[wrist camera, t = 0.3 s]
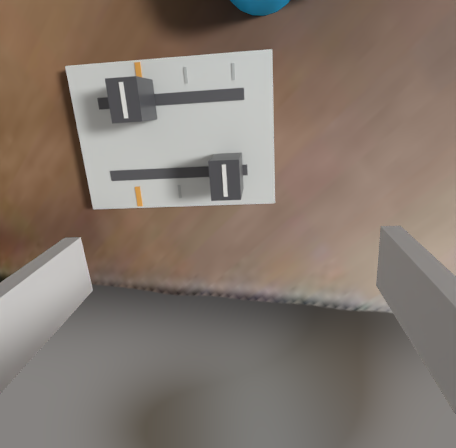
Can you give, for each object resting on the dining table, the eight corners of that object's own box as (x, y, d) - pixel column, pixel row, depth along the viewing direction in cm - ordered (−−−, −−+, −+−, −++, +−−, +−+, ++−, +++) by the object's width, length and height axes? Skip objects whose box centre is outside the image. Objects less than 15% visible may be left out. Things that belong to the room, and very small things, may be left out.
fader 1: (124, 81, 37) (104, 78, 32) (152, 79, 36) (135, 76, 32) (130, 120, 38) (111, 123, 33) (157, 119, 38) (141, 121, 33)
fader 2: (214, 153, 38) (207, 161, 33) (241, 152, 38) (238, 159, 33) (217, 189, 40) (211, 201, 35) (243, 188, 39) (240, 200, 34)
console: (74, 67, 39) (64, 65, 37) (271, 51, 37) (272, 48, 35) (100, 204, 44) (92, 209, 42) (274, 198, 42) (275, 203, 40)
